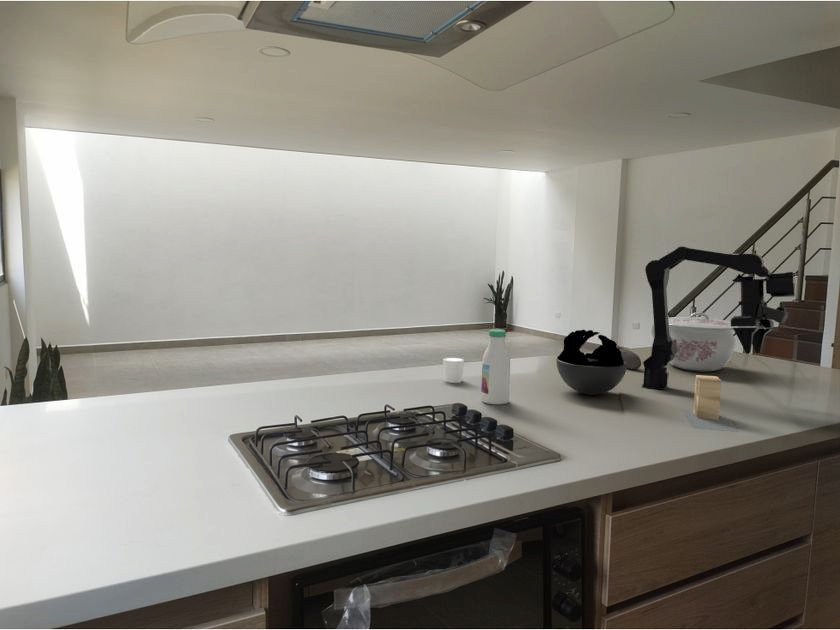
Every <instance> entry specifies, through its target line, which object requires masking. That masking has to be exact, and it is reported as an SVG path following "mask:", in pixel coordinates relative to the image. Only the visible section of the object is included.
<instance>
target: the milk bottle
mask: <svg viewBox="0 0 840 630" xmlns="http://www.w3.org/2000/svg"><path fill="white" fill-rule="evenodd" d="M506 336H507V331H506V330H505V329H494V328H493V329H489V330H488V339H489V342H488V345H487V347H486V349H485V351H484V354H483V356H482V368H481V389H480V390H481V391H480V392H481V393H480V397H481V398H480V400H481V402H482V403H485V404H489V405H497V406H499V405H507V404H508V403H509V401H510V391H511V390H510V389H511V388H510V385H511V382H510V381H511V357H510V353H509V351H508V348H507V346H506Z"/></svg>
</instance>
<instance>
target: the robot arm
mask: <svg viewBox="0 0 840 630" xmlns="http://www.w3.org/2000/svg"><path fill="white" fill-rule="evenodd" d="M684 261H690V262H696V263H702V264H709V265H713V266H714V265H715V266H721V267H725V268H728V269H731V270H734V271H736V272H740V273H738V274H737V276H736V277H735V278H734V279H732V282H733V283H734V284H740V301H738V306H740V315H738V316H737V315H736V316H733V317H732V318H731V319H730V322H731V326H733V327H736V326H738V328H733V330H734V331H733V332H734V333H735V335H736V337H737V338H738V340H739V343H740V344H741V346H742V348H743V349H744V353H746V354H751V351H752V347H753V349H754V352H755V353H756V354H760V353H761V351H762V349H763V345H764V341H765V337H766V335H767V334H768V333H769V332H771V331H772V330H773V329H774V328H775V326H774V325H775V323H774V322H776V323H778V324H785V322H786V320H787V319H788V318H789V312H787V309H786V307H782V306H777V307H776V308H774V307H773V308H772V307H770V306H769V307H768V302H767V301H765V295H764V294H765V292H766V295H770V298H789V297H790V298H791V297H796V282H795V277H794V275H795V274H794V272H793V271H788V272H781V273H771V270H769V269H768V268H767V267H766V266H765V265H764V263H765V262H764V259H763V258H762V256H761V255H759V254H757V253H724V252H718V251H717V252H716V251H711V250H706V249H705V250H703V249H698V248H690V247H687V246H678V247H676V248H675V249H674V250H672V251H671V252H669V253H667V254H665V255H664V256H662V257H661V258H659V259H653V260H651V261H649V262H648V263H647V264H646V266H645V269H644V271H645V274H646V280H647V283H648V285H649V286H650V289H651V296H652V297H651V299H652V301H651V302H652V314H653V315H652V316H653V324H654V331H655V336H654V337H653V342H652V346H651V353H650V354H651V355H650V356H649V357H648V358H646V359H645V360H644V361H642V364H643V367H644V368H643V383H642V385H641V387H642V388H649V389H655V390H666V388H667V387H668V385H669V377H670V375H669V372H668V367H667V366H668V364H670V363H669V362H670V361H672V360H673V359H674V358H675V354H676V353H677V352H678V351H677V348H676V343H677V340H676V339H675V340H672V339H671V336H670V334H669V321H668V318H669V309H668V294H667V288H668V283H669V280H670V272H671V271H670V270H672V269H674V268H675V267H677V266H678V265H680V264H681V263H682V262H684ZM741 273H743V274H745V275H751V276H743V275H741ZM755 276H757V277H759V278H757V279H756V277H755ZM764 284H765V285H764ZM764 286H765V288H764ZM764 289H765V291H764Z"/></svg>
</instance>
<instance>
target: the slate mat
mask: <svg viewBox="0 0 840 630" xmlns="http://www.w3.org/2000/svg"><path fill="white" fill-rule="evenodd" d="M681 411H682V412H683V414H684V416H685V418H686V419H687V420H688V422H689V423H690V425H691V426H692V428H693V429H703V430H715V431H725V432H735V433H737V432H738V433H740V431H739V430H738V428H736V426H735V425H734V424H733V423H732V422H731V420H730V419H729V418H728V417H727V416H726V415H725V414H724V413H723V412H722V411H719V418H718V419H707V418H697V417H696V416H695V414H694V413H693V409H686V408H681Z"/></svg>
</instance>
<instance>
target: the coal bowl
mask: <svg viewBox="0 0 840 630" xmlns="http://www.w3.org/2000/svg"><path fill="white" fill-rule="evenodd" d="M594 336H597V337H598V339H599V340H600V341H601V342H600V343H601V344H600V345H599V346H598V347H597V348H595V349H594V350H593V351H592V353H590V352H586V353H584V352H582V351H581V348H582V347H583V345H584V344H585V343H587V342H588V340H589V339H590V338H593V337H594ZM617 347H618V344H617V342H616V341H614V340H613V339H610V338H609V337H607V336H606V335H603V334H600V332H598V331H594V330H592V329H589V330H586V329H580V330H578V329H577V330H575V331H571V332H570V333H568V335H567V336H565V337H564V339H563V349H562V351H561V352H560V353H559V355H558V356H557V357H556V359H555V362H556V368H557V371H558V374H559V376H560V378H561V379H562V381H563V382H564V383H565V384H566V385H567V386H568V387H569V388H571V389H572V390H573V391H574V392H578V393H580V394H583V395H587V396H589V395H591V396H596V395H601V394H605V393H608V392H609V391H611V390H614V389H615V387H617V386H619V384H620V383H621V382H622V380H623V379H624V377H625V374H626V371H627V370H628V369H627V362H625V361H623V358H622V355H621V351H620V350H619V348H617Z"/></svg>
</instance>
